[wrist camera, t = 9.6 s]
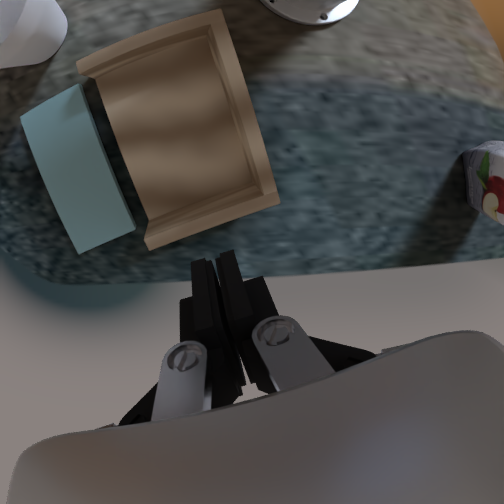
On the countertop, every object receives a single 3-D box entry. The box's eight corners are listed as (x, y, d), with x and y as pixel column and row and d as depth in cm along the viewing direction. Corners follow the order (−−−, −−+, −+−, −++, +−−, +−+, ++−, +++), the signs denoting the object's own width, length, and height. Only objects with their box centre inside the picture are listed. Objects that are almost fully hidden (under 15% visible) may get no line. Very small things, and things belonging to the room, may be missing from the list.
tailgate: (81, 84, 24) (24, 116, 24) (78, 83, 23) (19, 117, 23) (136, 225, 32) (81, 249, 31) (135, 229, 31) (78, 254, 30)
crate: (94, 69, 25) (75, 62, 19) (214, 25, 25) (220, 8, 20) (154, 226, 33) (149, 250, 28) (264, 186, 34) (280, 203, 28)
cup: (4, 84, 22) (-63, 84, 12) (10, 11, 18) (-48, -13, 8) (76, 66, 24) (23, 49, 13) (82, -11, 20) (41, -55, 9)
